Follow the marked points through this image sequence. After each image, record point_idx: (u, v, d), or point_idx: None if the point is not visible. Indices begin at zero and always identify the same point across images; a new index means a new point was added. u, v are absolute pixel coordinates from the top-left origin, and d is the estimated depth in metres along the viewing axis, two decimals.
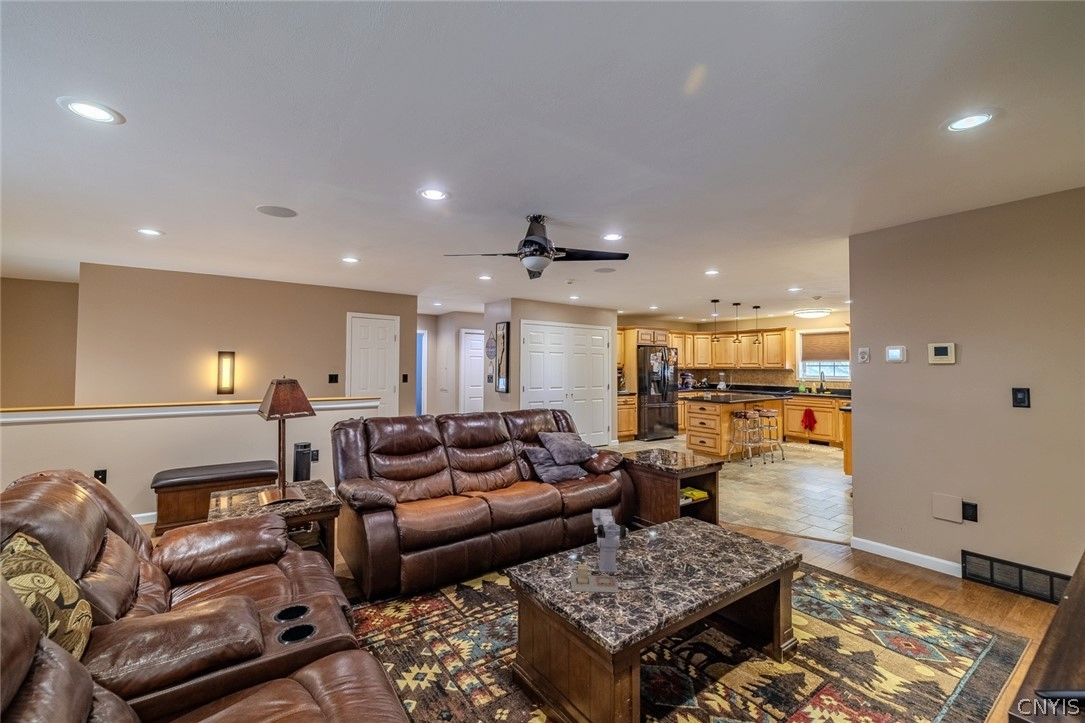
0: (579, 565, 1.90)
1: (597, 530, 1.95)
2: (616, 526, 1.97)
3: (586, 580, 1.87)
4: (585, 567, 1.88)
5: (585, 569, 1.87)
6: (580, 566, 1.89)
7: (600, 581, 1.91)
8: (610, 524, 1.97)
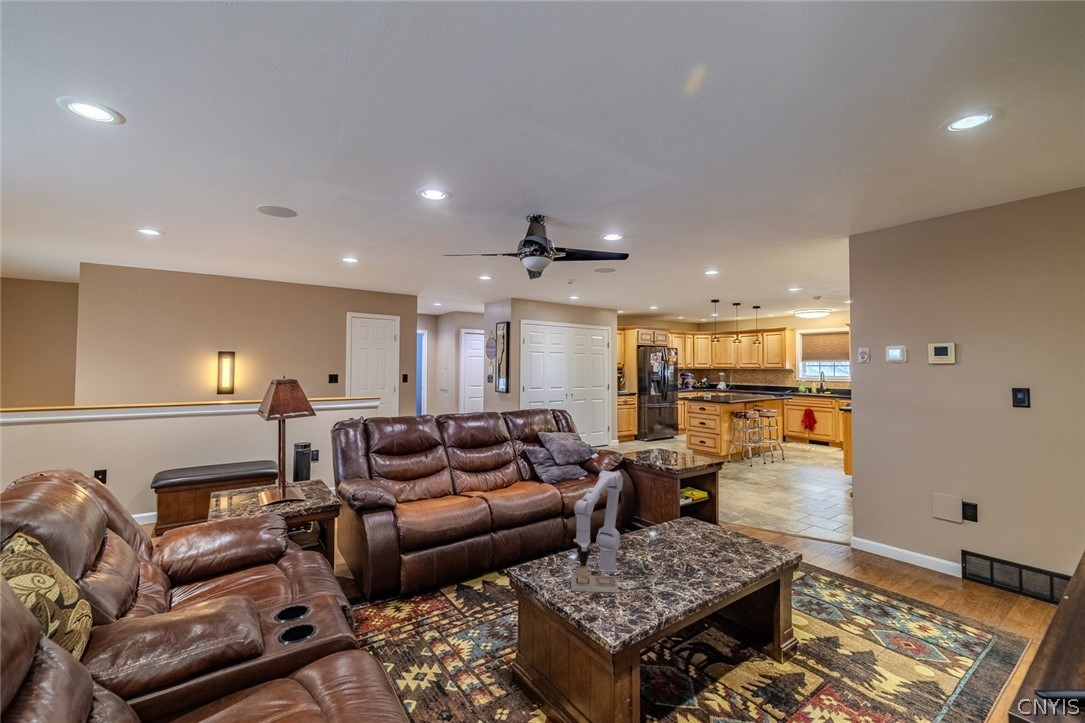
0: (579, 565, 1.90)
1: None
2: None
3: (586, 580, 1.87)
4: (585, 567, 1.88)
5: (585, 569, 1.87)
6: (580, 566, 1.89)
7: (600, 581, 1.91)
8: None
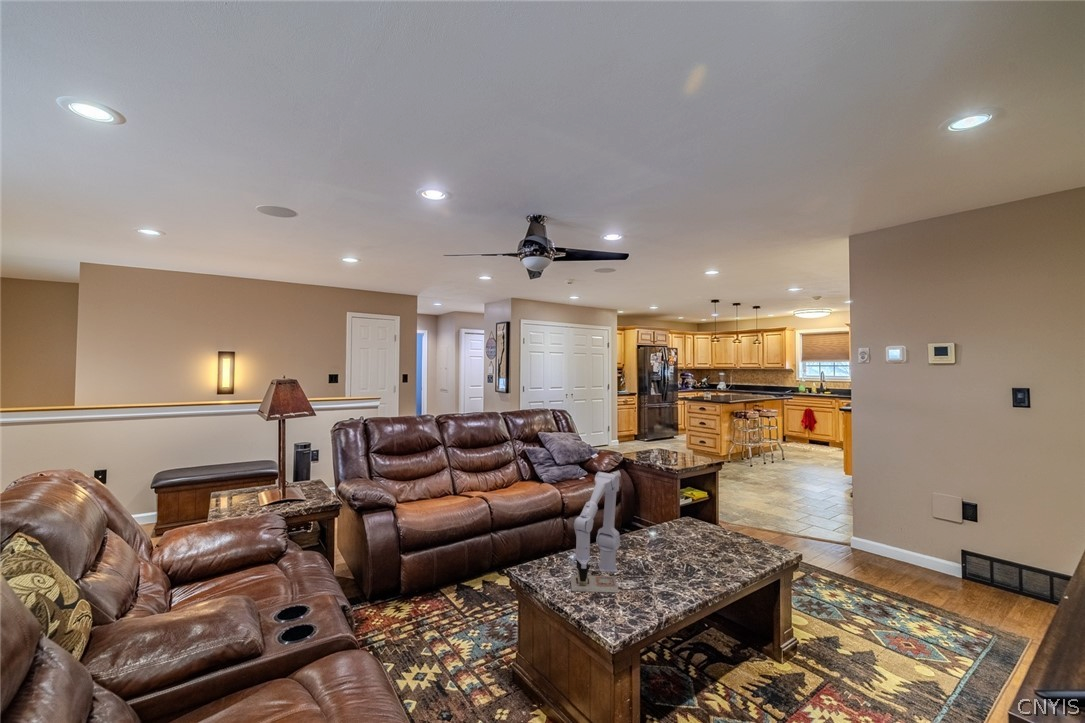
0: None
1: None
2: None
3: (586, 580, 1.87)
4: None
5: None
6: None
7: (600, 581, 1.91)
8: None
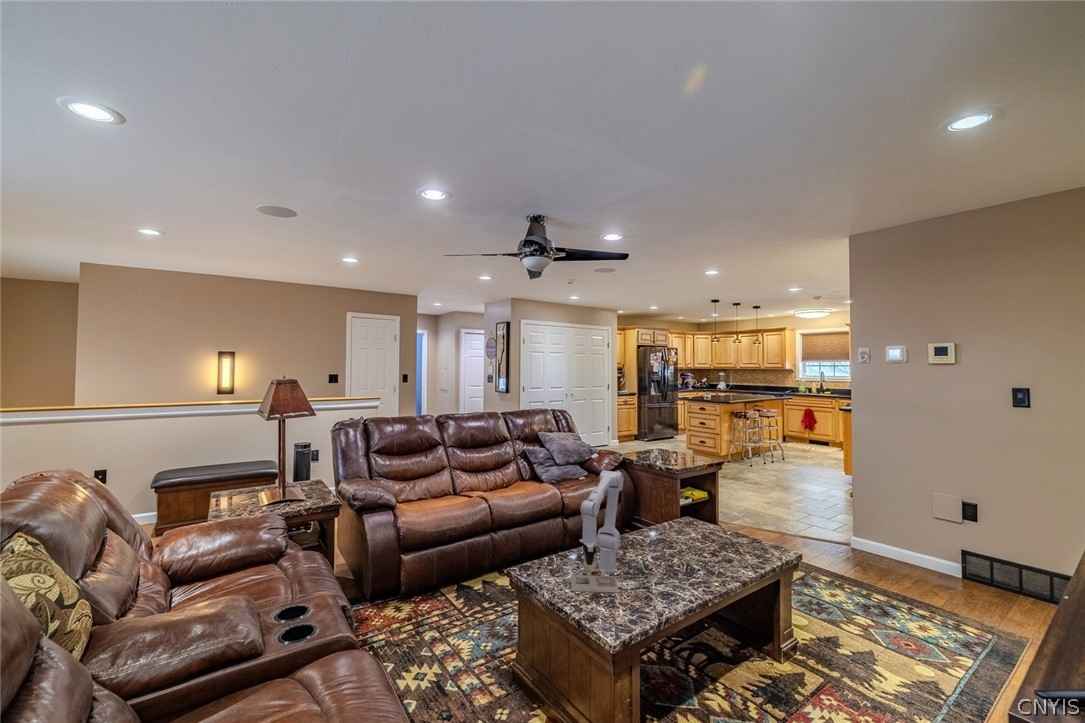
0: None
1: None
2: None
3: (592, 564, 1.87)
4: None
5: None
6: None
7: (600, 581, 1.91)
8: None
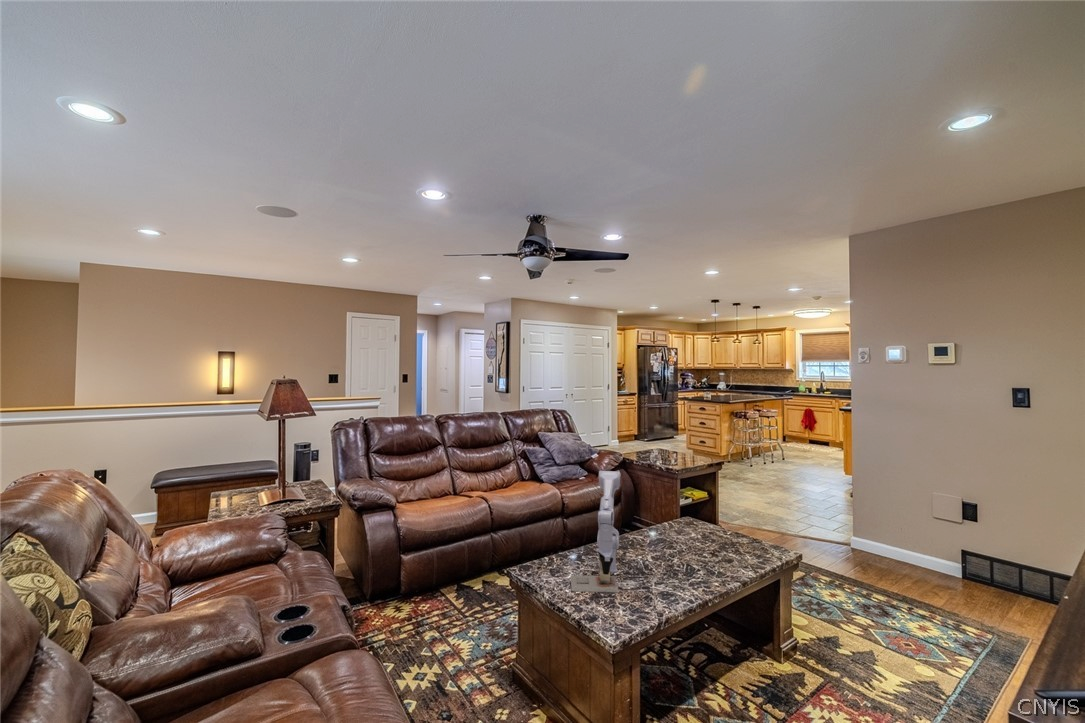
0: None
1: None
2: None
3: None
4: None
5: None
6: None
7: (600, 581, 1.91)
8: None
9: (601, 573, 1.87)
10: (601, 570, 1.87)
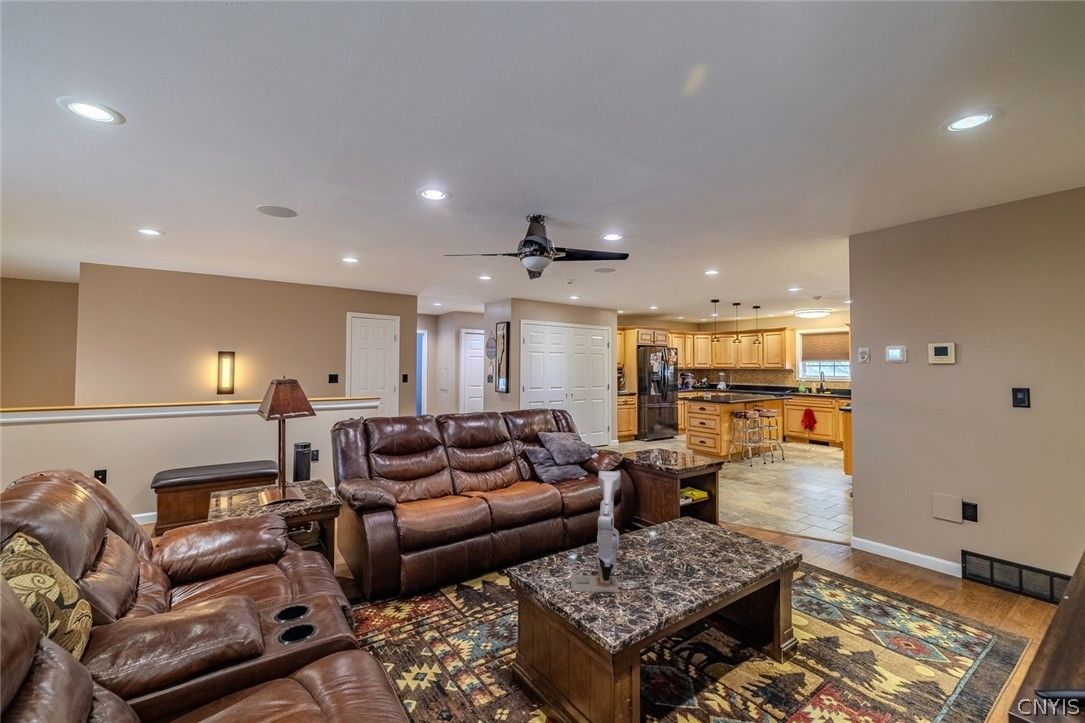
0: None
1: None
2: None
3: (608, 581, 1.87)
4: None
5: None
6: None
7: None
8: None
9: (601, 581, 1.87)
10: (601, 578, 1.87)
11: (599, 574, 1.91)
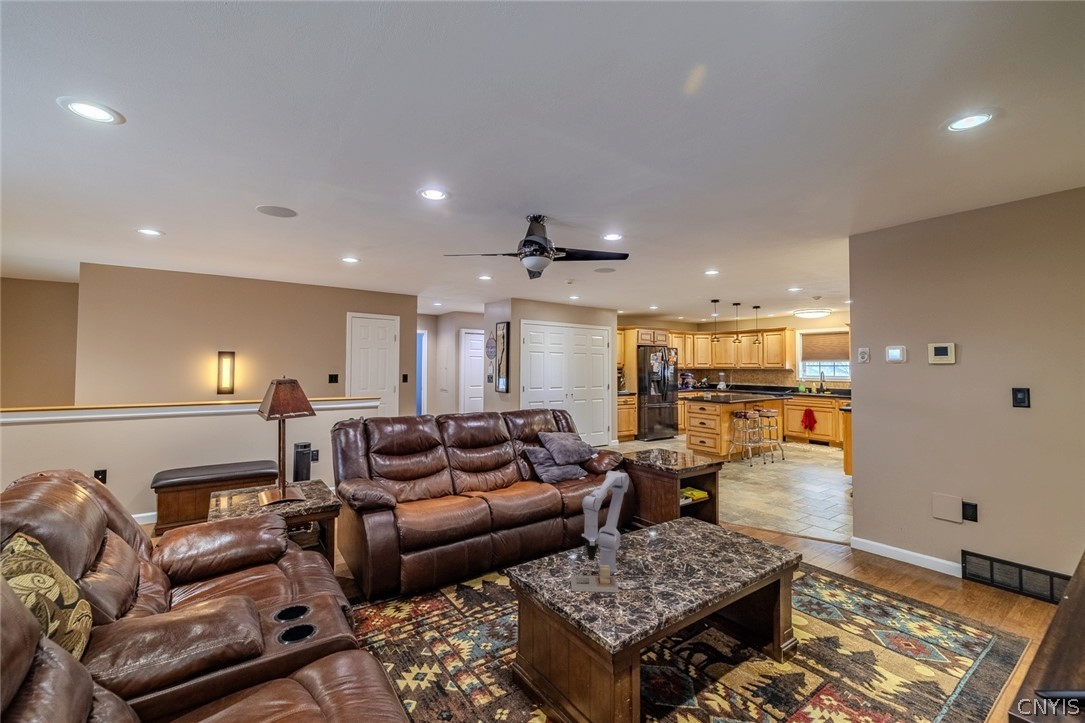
0: (601, 566, 1.90)
1: None
2: None
3: (608, 581, 1.87)
4: (607, 568, 1.88)
5: (608, 570, 1.87)
6: (602, 567, 1.89)
7: None
8: None
9: (601, 581, 1.87)
10: (601, 578, 1.87)
11: (599, 574, 1.91)
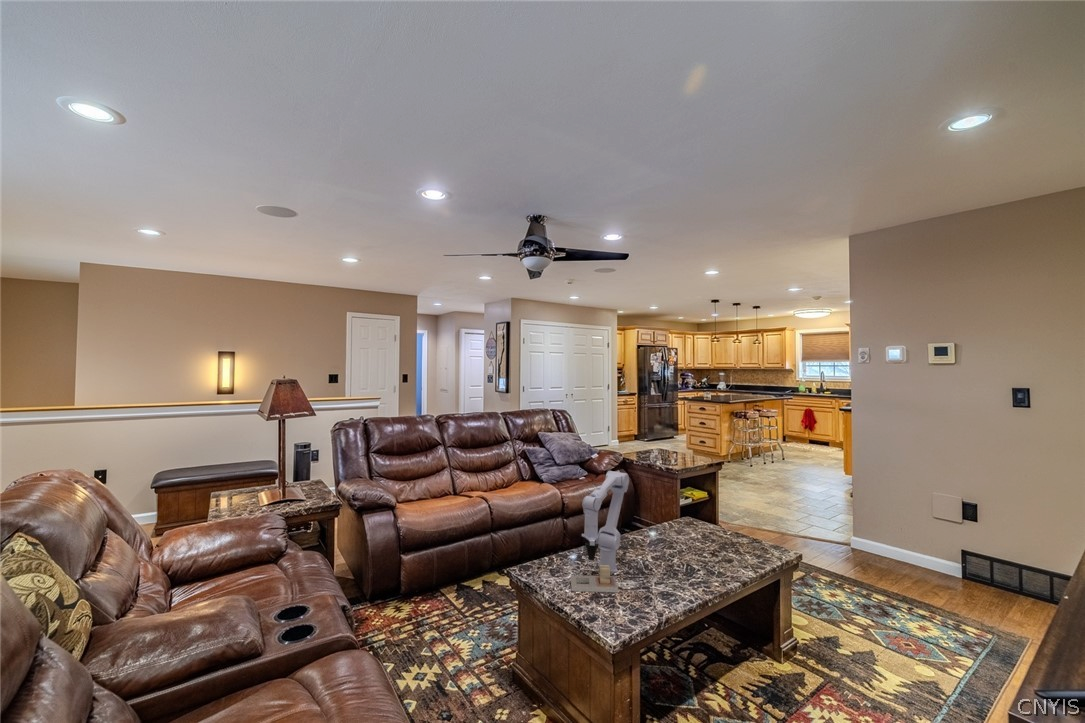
0: (601, 566, 1.90)
1: None
2: None
3: (608, 581, 1.87)
4: (607, 568, 1.88)
5: (608, 570, 1.87)
6: (602, 567, 1.89)
7: None
8: None
9: (601, 581, 1.87)
10: (601, 578, 1.87)
11: (599, 574, 1.91)
